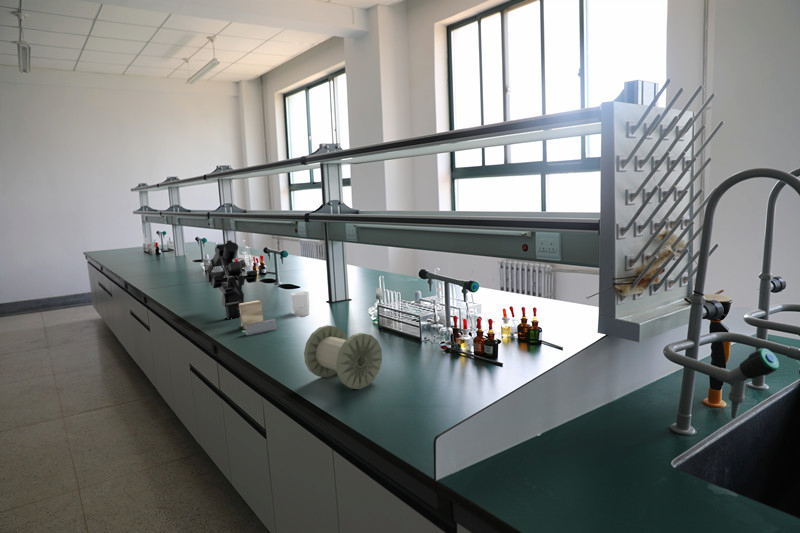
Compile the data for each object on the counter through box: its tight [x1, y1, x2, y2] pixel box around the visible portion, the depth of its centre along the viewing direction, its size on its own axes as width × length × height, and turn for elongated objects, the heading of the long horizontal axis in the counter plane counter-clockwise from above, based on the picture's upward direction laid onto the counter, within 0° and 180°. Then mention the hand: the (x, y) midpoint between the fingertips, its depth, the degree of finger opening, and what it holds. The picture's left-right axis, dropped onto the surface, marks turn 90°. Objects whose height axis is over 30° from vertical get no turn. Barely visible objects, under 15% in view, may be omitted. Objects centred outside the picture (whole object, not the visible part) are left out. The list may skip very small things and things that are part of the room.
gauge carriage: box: [237, 300, 264, 330], centre depth 213 cm, size 4×10×10 cm, turn 123°
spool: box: [303, 324, 383, 390], centre depth 148 cm, size 16×15×15 cm
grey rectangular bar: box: [244, 318, 278, 336], centre depth 205 cm, size 2×12×4 cm, turn 123°
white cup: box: [290, 291, 310, 318], centre depth 234 cm, size 8×8×10 cm
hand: (240, 294), depth 223 cm, fingers closed
